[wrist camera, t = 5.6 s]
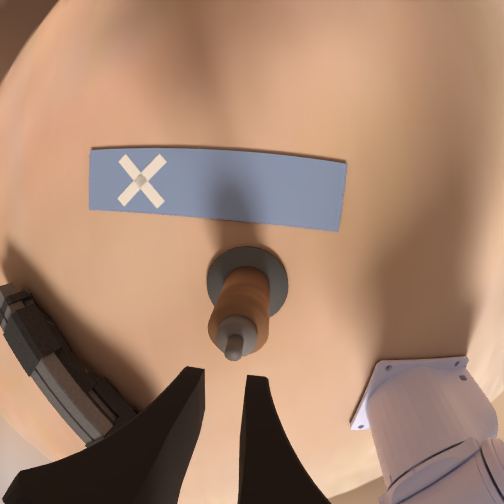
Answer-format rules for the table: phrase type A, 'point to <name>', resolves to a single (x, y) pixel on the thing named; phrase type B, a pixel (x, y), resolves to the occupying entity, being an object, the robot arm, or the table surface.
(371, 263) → the table surface
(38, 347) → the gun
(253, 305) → the awl
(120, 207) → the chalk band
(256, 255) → the coaster
